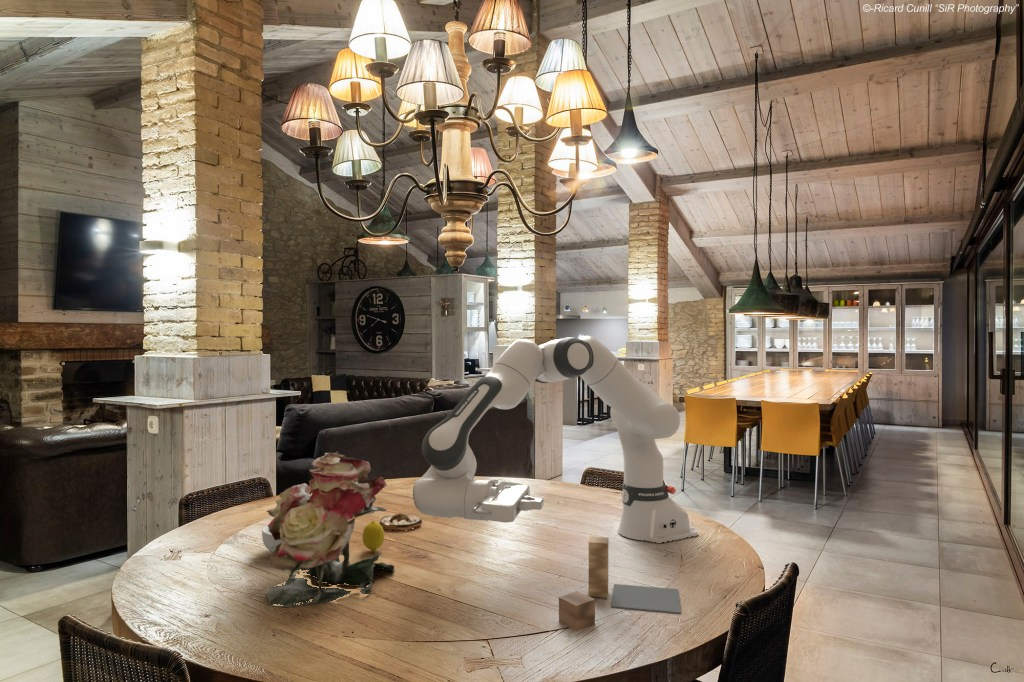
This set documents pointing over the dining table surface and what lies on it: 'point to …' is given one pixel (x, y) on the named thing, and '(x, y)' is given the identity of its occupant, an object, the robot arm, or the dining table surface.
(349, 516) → the rose bouquet
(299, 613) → the dining table surface
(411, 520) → the cream pie
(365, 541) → the lemon
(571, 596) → the walnut cube
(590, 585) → the oak block
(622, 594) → the felt mat
